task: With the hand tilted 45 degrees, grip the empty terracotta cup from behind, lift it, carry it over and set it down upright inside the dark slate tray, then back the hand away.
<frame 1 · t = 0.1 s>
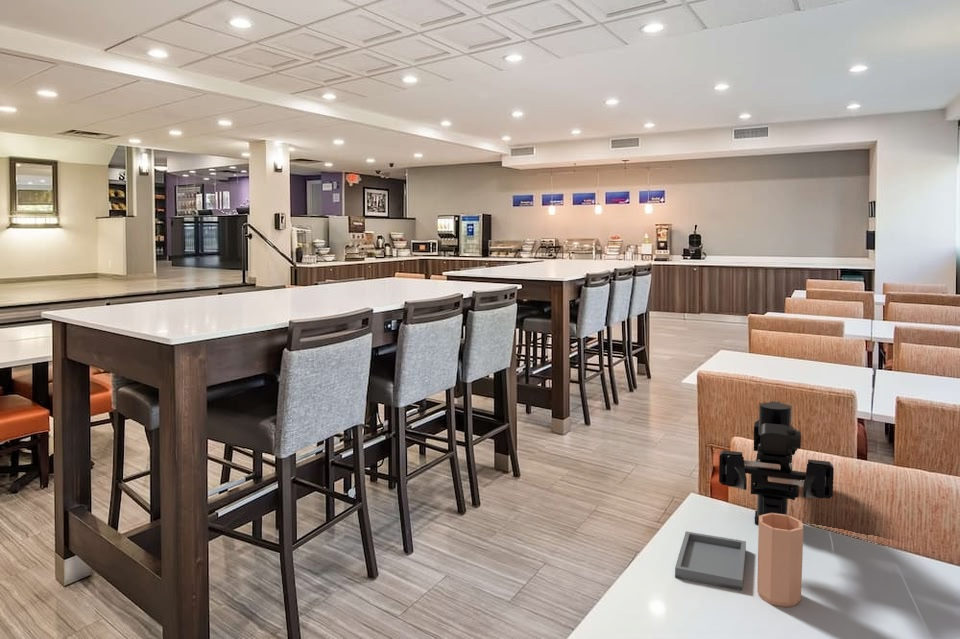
hand: (774, 490, 104), 16 cm above the table, fingers open, 9 cm apart
tray: (711, 563, 112), on the table
cup: (778, 596, 101), on the table
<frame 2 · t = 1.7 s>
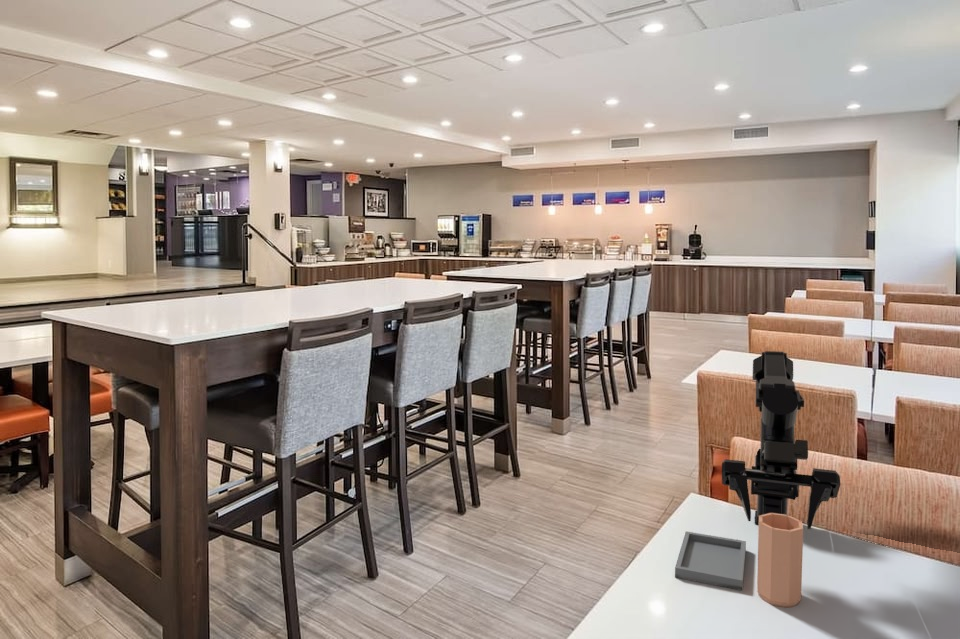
hand: (778, 524, 104), 11 cm above the table, fingers open, 9 cm apart
nothing on the table moved.
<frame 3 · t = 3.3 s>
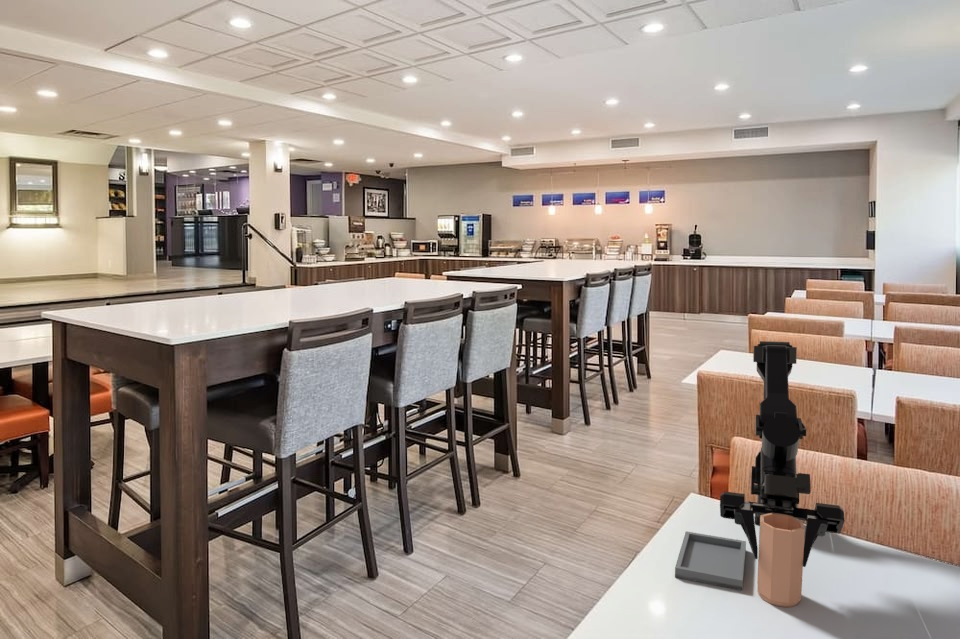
hand: (779, 562, 99), 7 cm above the table, fingers closed on cup, 7 cm apart
cup: (778, 595, 101), on the table, touching gripper
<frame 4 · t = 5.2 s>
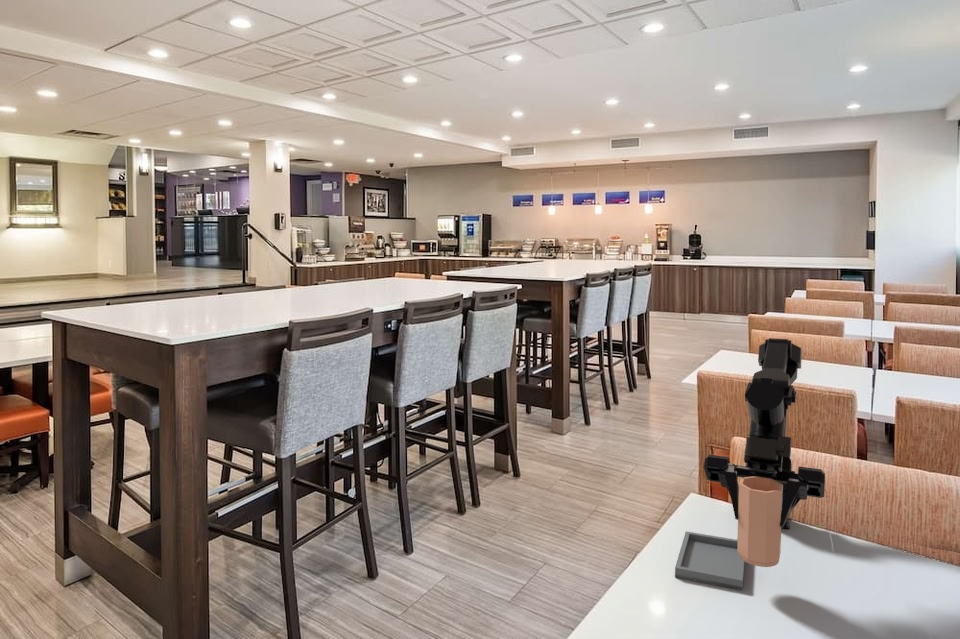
hand: (758, 522, 101), 12 cm above the table, fingers closed on cup, 6 cm apart
cup: (758, 557, 103), point 6 cm above the table, touching gripper
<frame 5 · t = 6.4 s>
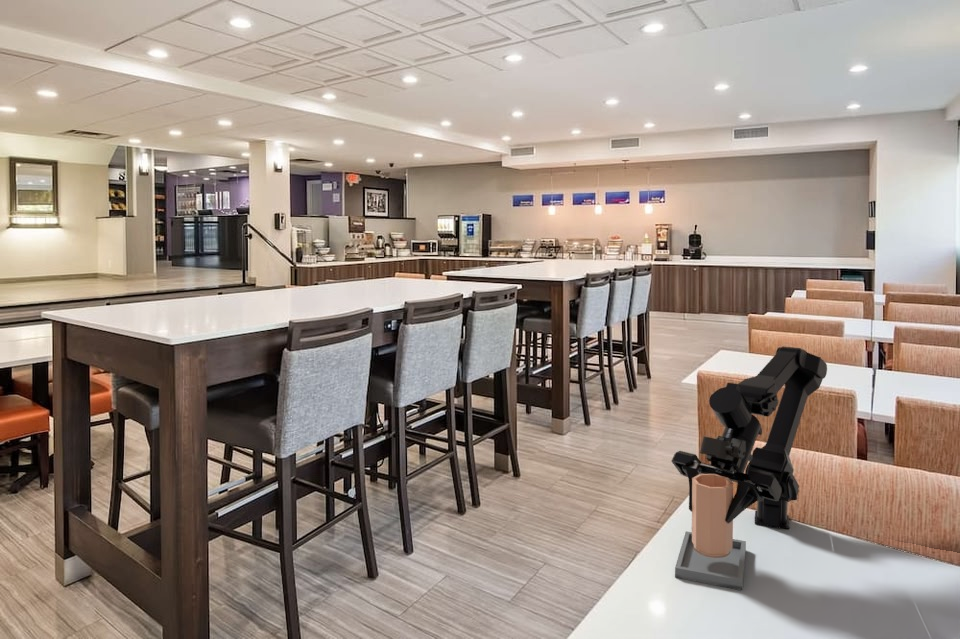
hand: (708, 516, 109), 10 cm above the table, fingers closed on cup, 6 cm apart
cup: (711, 548, 111), point 3 cm above the table, touching gripper
when the fingers open (9 cm above the table, at t = 7.2 s): cup drops 1 cm, resting on tray.
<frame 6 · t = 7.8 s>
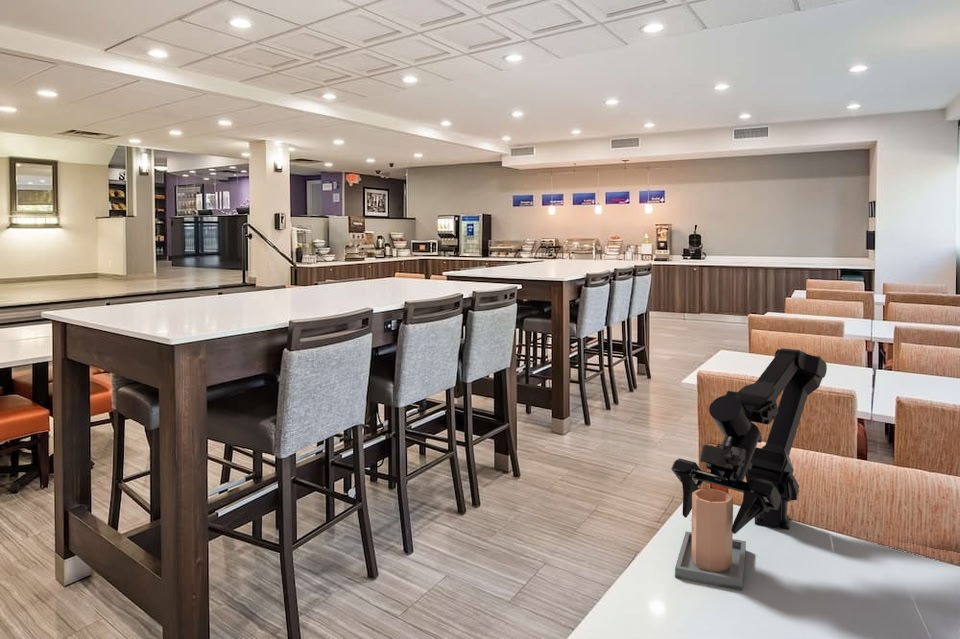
hand: (707, 524, 109), 9 cm above the table, fingers open, 9 cm apart
cup: (711, 563, 111), point 1 cm above the table, touching tray
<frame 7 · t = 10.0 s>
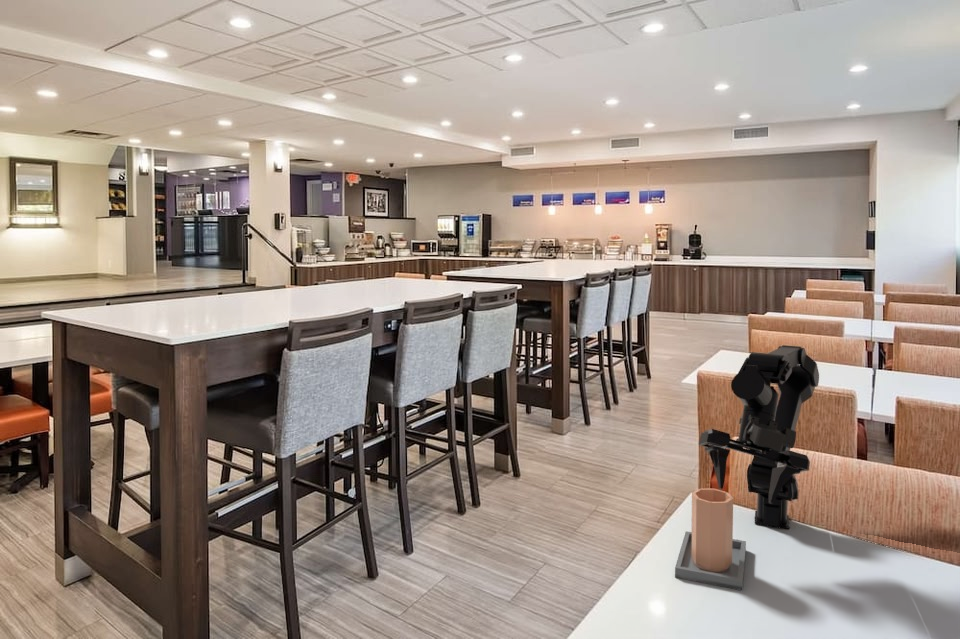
hand: (745, 495, 113), 12 cm above the table, fingers open, 9 cm apart
nothing on the table moved.
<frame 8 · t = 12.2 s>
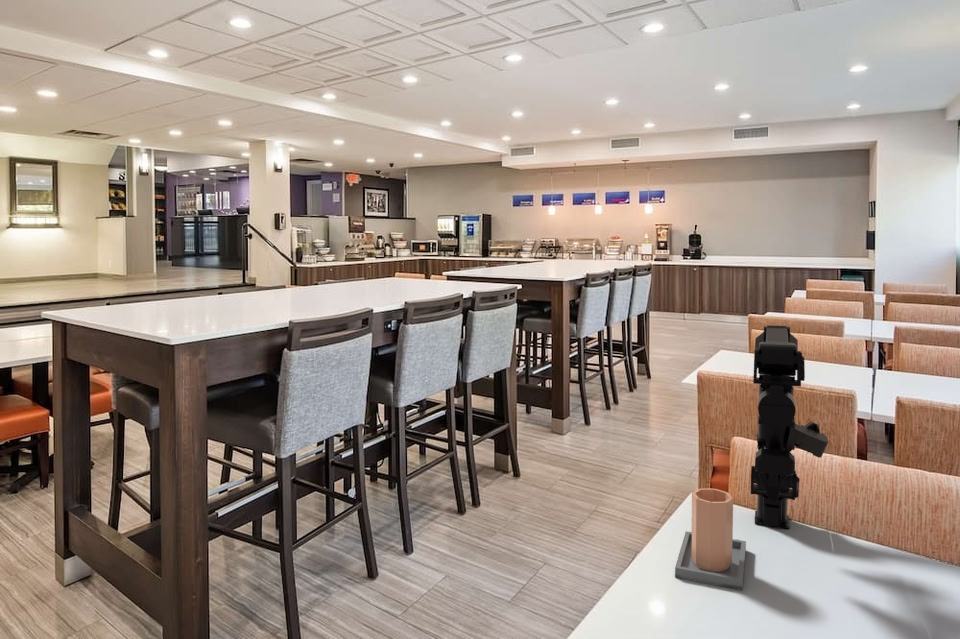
hand: (773, 492, 114), 12 cm above the table, fingers open, 9 cm apart
nothing on the table moved.
at the end: cup inside the target area on the tray (1.4 cm from its centre), point 0.6 cm above the tray's base; cup tilted 0°; the gripper is holding nothing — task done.
